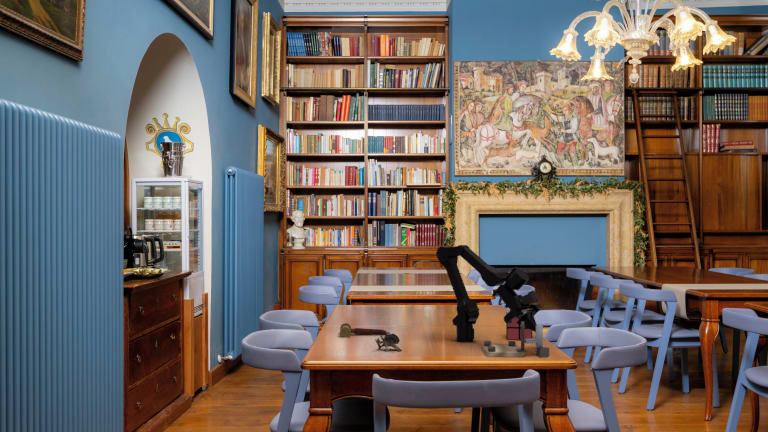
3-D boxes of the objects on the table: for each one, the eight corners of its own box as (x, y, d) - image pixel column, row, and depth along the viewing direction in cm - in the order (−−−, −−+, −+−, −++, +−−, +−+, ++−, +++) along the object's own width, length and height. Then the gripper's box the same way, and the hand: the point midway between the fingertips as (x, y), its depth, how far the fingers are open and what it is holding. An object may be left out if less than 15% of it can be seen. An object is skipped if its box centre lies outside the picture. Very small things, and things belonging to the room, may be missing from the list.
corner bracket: (537, 355, 194) (537, 347, 194) (546, 355, 195) (546, 346, 195) (539, 357, 192) (539, 348, 192) (549, 356, 193) (549, 348, 193)
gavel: (389, 325, 236) (391, 329, 226) (388, 336, 236) (390, 341, 226) (340, 322, 235) (340, 326, 225) (339, 333, 235) (339, 338, 225)
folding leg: (527, 355, 193) (527, 326, 193) (523, 353, 196) (523, 325, 196) (544, 354, 195) (544, 325, 195) (540, 352, 197) (540, 324, 197)
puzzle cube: (532, 341, 219) (532, 315, 220) (506, 339, 221) (506, 315, 222) (530, 336, 229) (530, 312, 229) (506, 335, 231) (506, 311, 231)
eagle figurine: (375, 350, 197) (400, 346, 196) (374, 331, 201) (398, 327, 200) (380, 357, 203) (404, 353, 202) (379, 339, 208) (402, 335, 206)
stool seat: (487, 356, 192) (487, 322, 193) (481, 348, 205) (481, 316, 206) (526, 357, 192) (526, 322, 192) (518, 348, 205) (518, 316, 205)
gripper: (510, 286, 194) (539, 321, 187) (536, 281, 208) (564, 314, 200) (491, 306, 200) (519, 341, 192) (518, 300, 213) (545, 333, 206)
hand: (538, 331), depth 197 cm, fingers closed, pressing on folding leg
